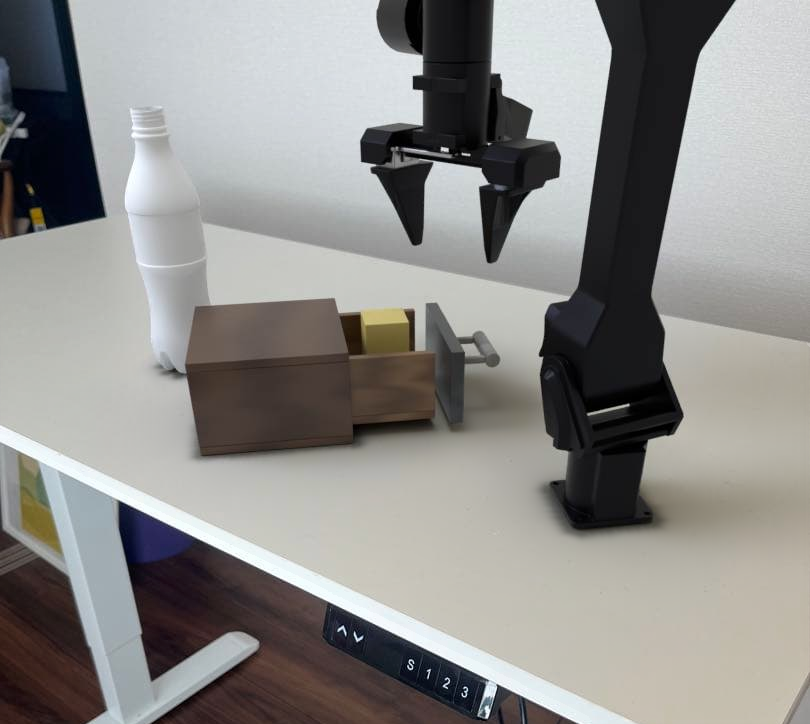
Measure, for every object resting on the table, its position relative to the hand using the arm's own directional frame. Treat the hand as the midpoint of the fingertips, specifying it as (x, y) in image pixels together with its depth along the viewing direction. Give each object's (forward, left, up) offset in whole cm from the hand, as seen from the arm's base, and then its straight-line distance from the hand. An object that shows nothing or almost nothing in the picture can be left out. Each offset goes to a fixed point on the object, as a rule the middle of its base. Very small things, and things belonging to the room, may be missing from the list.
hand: (453, 253), depth 76 cm
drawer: (-4, +5, -12) cm, 14 cm away
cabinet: (-4, +18, -13) cm, 23 cm away
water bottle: (+10, +27, -14) cm, 32 cm away
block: (-4, +7, -11) cm, 14 cm away
